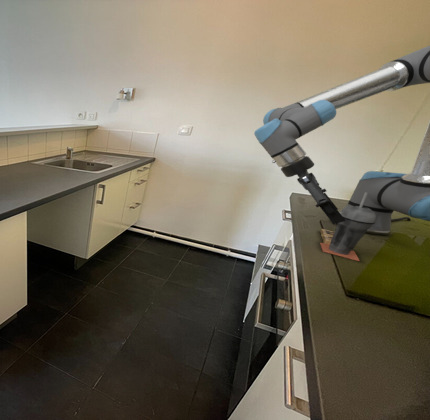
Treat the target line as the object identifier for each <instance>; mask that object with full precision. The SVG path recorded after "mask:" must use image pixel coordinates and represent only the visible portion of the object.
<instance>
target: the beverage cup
mask: <svg viewBox="0 0 430 420" xmlns="http://www.w3.org/2000/svg"><path fill="white" fill-rule="evenodd" d="M366 196H367V193H366V192H365V194H364V196H363V199H362V201H361V204H360V206H353V207H350V208H347V209H346V210H344V211H343V212H342V213H341V215H342V216H343V218H344V219H345V220H346V221H343V222H340V223H338V224H336V227H335V230H334V231H333V232H334V235H333V237H332V240H331V242H330V247H329V249H330V250H331V251H333V252H336V253H339V254H344V255H348V254H349V253H350V252H351V251H353V250H354V248H355V247H357V246H356V245H357V244H358V243H359V242H360V241H361V239H362V238H363V236H364V235H365V234H366V233H365V232H366V231H367V230H368V229H369V228H370V227H371V226H372V225H373V224H375V219H376V216H375V213H374V212H373V211H372V210H371V209H369V208H367V207H362V206H363V203H364V201H365V198H366Z"/></svg>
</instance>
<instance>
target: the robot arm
mask: <svg viewBox="0 0 430 420" xmlns="http://www.w3.org/2000/svg"><path fill="white" fill-rule="evenodd" d="M422 84H430V45H428V46H425V47H422V48H420V49H418V50H415V51H413V52H410V53H408V54H406V55H403V56H401V57H398V58H396V59H394V60H391V61H388V62H386V63H384V64H382V65H381V66H380V67H379V68H378V69H377V70H374V71H372V72H369V73H366V74H364V75H362V76H361V75H360V76H359V77H357V78H354V79H351V80H349V81H346V82H344V83H341V84H339V85H337V86H334V87H331V88H329V89H327V90H324V91H322V92H319V93H317V94H314V95H311V96H309V97H307V98H304V99H301V100H299V101H296V102H293V103H291V104H288V105H285V106H284V107H283V106H282V107H277V108H272V109H270V110H269V111H267V112H266V114H264V116H263V119H262V122H263V125H261V126H260V127H258V128H257V129H256V130H255V131H254V133H253V134H254V136H255V138H256V140H257V141H258V143H259V144H260V146H262V148H263V149H264V150H265V151H266V152H267V154H268V155H269V157H270V158H271V159H272V161H271V163H272V164H275V163H276V165H277V167H278V168H280V171H281V172H282V173H283V175H284V176H285V177H286V178H291V177H294V176H297V178H296V180H297V182H298V183H299V185H301V186H302V187H303V188H304V189H305V191H307V192H308V193H309V194H310V196H311V197H312V198H313V200H314V201H315V202H316V204H314V206H315V207H316V208H320V209H321V210H322V212H323V214H325V216H326V217H327V218H328V220H329V221H330V222H331V224H333V225H338V223H340V222H343V221H346V220H345V219H344V218H343V216H342V215H341V213H342V212H343V211H344V210H346V209H347V208H350V207H353V206H360V204H361V201H362V199H363V196H364V194H365V192H366V193H367V196H366V198H365V201H364V203H363V206H362V207H367V208H369V209H371V210H372V211H373V212H374V213H375V216H376V219H375V224H373V225H372V226H371V227H370V228H369V229H368V230H367V231H366V232H365V234H370V235H375V236H376V235H377V236H387V235H388V234H389V233H390V231H391V229H392V222H396V221H397V222H398V221H403V220H407V222H408V221H409V222H410V221H412V219H411V218H413V219H419V220H423V221H426V222H430V120H429V121H428V124H427V126H426V130H425V132H424V135H423V138H422V140H421V143H420V146H419V149H418V152H417V153H416V154H417V155H416V157H415V159H414V163H413V165H412V169H411V171H409V172H408V173H402V172H390V171H377V170H376V171H375V170H368V171H365V172H364V173H363V175H362V176H361V178H359V180H358V182H357V185H356V186H355V188H354V190H353V192H352V195H351V196H350V198H349V201H347V204H346V205H345V206H344V207H342V208H341V210H339V208H338V207H337V206H336V204H335V203H334V202H333V201H332V200H331V198H330V196H328V195H327V193H326V192H327V189H326V188H322V187H321V186H320V183H319V182H318V180H317V178H316V176H315V174H314V173H313V172H309V171H308V170H310V169H313V167H314V166H315V162H313V160H312V158H310V156H308V155H307V152H306V151H305V150H304V148H303V147H302V146H301V145H300V144H299V143H298V142H297V140H298V139H299V138H301V137H303V136H305V135H307V134H309V133H310V132H313V131H314V130H316V129H318V128H320V127H323V126H324V125H325V124H327V123H329V122H330V121H332V120H334V118H335V117H336V116H337V110H338V109H341V108H343V107H345V106H349V105H352V104H354V103H357V102H360V101H362V100H364V99H368V98H370V97H374V96H375V95H378V94H381V93H384V92H394V91H397V90H400V89H403V88H407V87H410V86H416V85H422ZM394 212H396V213H400V214H402V215H407V216H403V217H400V218H392V214H393V213H394ZM410 217H411V218H410Z"/></svg>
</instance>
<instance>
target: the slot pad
mask: <svg viewBox="0 0 430 420" xmlns="http://www.w3.org/2000/svg"><path fill="white" fill-rule="evenodd" d="M319 244H320V247H321V251H322V252H323V253H325V254H331V255H333V256H338V257H341V258H344V259H349V260H352V261H356V262H360V258H359V257H358V255H357V253H356V252H355V251H354V250H352V251H351V252H350V253H349V254H348V255H344V254H339V253H336V252H333V251H331V250H330V249H329V247H330V245H328V244H324V242H320V243H319Z"/></svg>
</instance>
